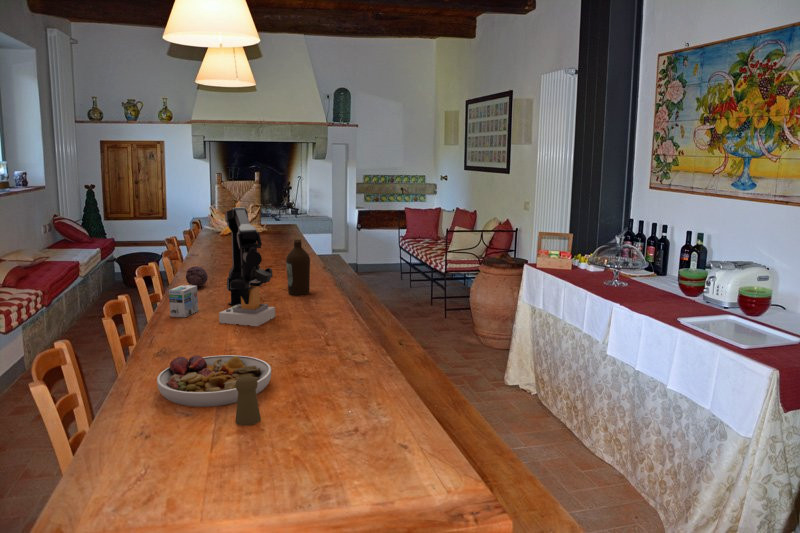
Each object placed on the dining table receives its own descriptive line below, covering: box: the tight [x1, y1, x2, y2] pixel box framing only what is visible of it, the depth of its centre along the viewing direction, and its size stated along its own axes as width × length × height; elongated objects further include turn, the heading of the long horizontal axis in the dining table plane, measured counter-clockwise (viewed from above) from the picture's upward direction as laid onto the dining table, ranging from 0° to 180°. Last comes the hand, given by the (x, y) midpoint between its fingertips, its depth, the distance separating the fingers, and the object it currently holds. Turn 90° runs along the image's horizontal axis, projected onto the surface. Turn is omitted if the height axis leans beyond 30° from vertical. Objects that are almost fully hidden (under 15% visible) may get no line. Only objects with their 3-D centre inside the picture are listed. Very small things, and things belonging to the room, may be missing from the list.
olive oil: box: [285, 238, 311, 297], centre depth 289 cm, size 11×11×25 cm
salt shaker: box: [234, 376, 262, 427], centre depth 155 cm, size 6×6×11 cm
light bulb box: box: [168, 284, 199, 318], centre depth 255 cm, size 11×7×11 cm, turn 168°
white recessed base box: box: [218, 303, 276, 327], centre depth 246 cm, size 14×16×6 cm
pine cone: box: [185, 265, 209, 287], centre depth 303 cm, size 18×10×10 cm, turn 21°
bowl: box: [156, 354, 272, 408], centre depth 176 cm, size 30×30×8 cm
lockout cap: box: [241, 286, 261, 309], centre depth 245 cm, size 5×5×8 cm
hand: (250, 302), depth 245 cm, fingers closed on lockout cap, 5 cm apart
